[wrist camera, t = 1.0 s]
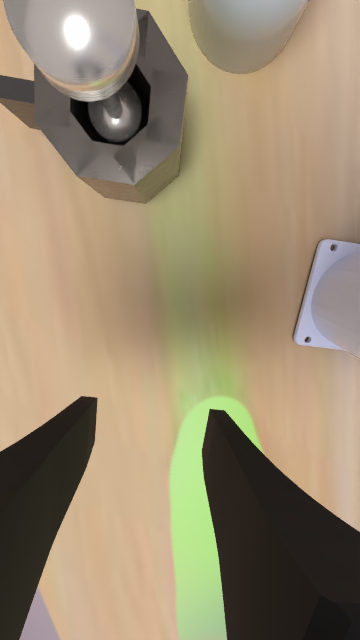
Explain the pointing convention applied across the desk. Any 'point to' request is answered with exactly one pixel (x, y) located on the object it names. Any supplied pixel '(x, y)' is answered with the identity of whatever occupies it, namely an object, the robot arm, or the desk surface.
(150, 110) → the grey octagonal pot
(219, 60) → the white dome with tab
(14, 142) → the desk surface
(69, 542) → the desk surface
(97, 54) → the grey flared round piece
